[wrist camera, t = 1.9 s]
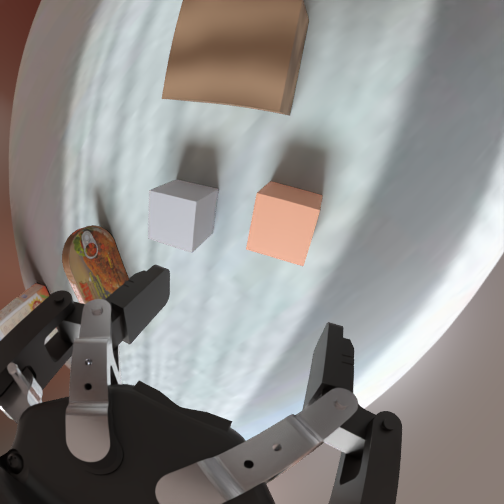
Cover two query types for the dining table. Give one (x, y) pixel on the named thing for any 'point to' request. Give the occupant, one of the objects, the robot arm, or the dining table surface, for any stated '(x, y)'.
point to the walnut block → (237, 53)
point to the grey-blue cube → (182, 214)
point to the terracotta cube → (284, 222)
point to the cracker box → (23, 309)
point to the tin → (93, 264)
